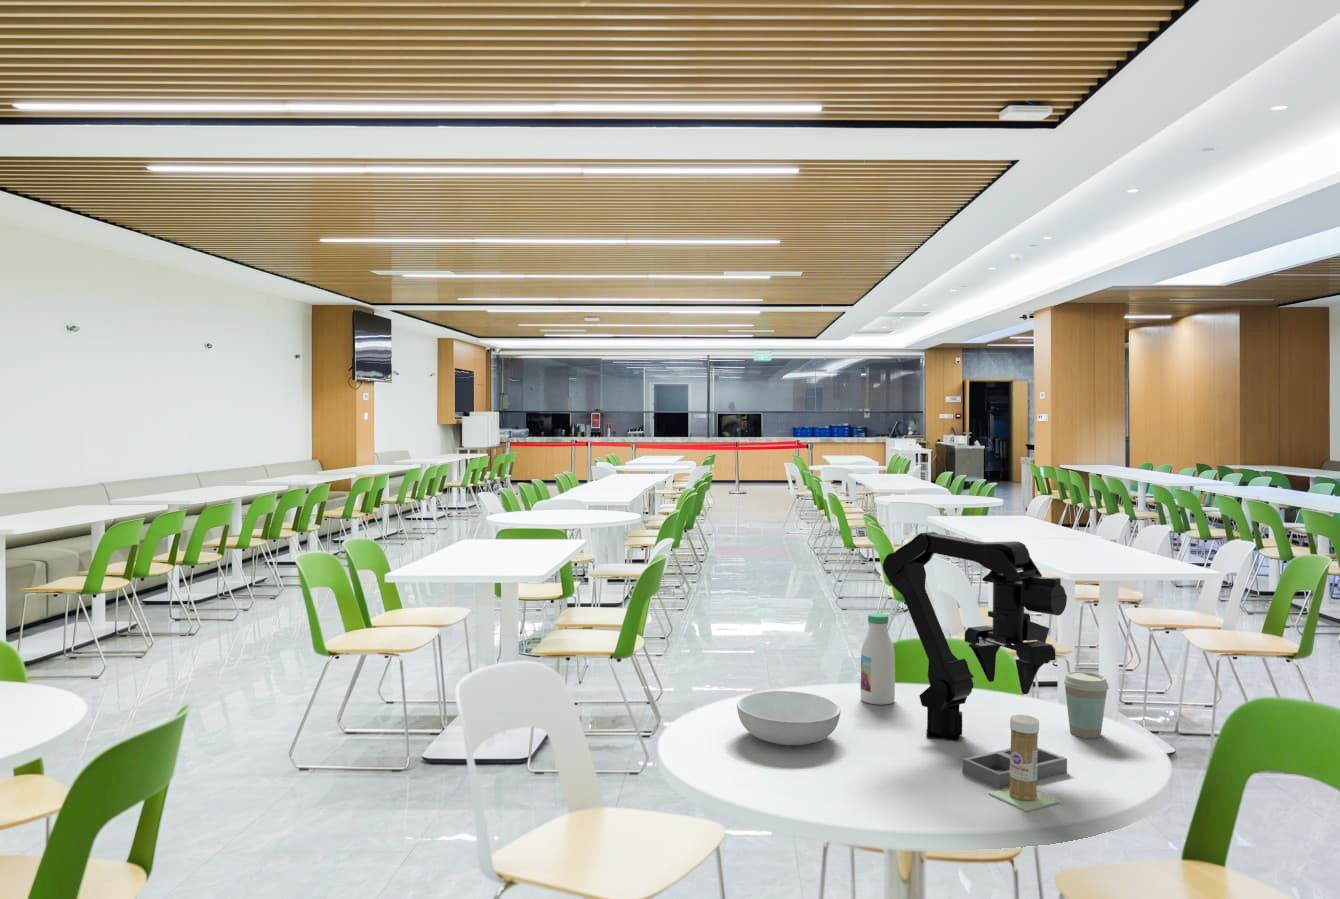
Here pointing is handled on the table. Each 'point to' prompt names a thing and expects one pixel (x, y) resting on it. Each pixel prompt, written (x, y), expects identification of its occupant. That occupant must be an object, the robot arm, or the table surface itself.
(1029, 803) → the pad
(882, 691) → the milk bottle
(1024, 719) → the sprinkles bottle
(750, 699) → the serving bowl
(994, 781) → the tray
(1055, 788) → the table surface
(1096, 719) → the coffee cup
